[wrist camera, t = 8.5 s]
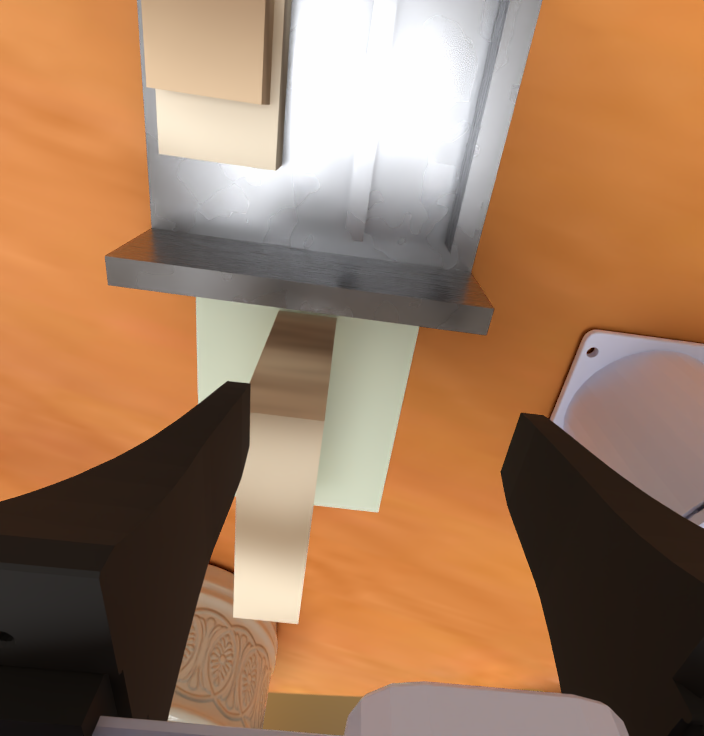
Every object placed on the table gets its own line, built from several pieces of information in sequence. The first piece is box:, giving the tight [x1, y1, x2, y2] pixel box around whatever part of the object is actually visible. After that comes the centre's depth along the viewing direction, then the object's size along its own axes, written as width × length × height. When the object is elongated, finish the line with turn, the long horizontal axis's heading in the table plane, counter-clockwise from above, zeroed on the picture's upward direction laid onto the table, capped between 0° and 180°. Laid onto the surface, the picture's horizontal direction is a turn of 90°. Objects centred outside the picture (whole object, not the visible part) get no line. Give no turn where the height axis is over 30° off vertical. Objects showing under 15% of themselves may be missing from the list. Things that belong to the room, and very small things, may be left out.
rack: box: [105, 0, 542, 335], centre depth 15 cm, size 16×13×5 cm
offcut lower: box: [155, 0, 292, 171], centre depth 16 cm, size 7×4×2 cm, turn 172°
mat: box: [196, 297, 419, 512], centre depth 24 cm, size 12×10×1 cm
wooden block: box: [233, 310, 337, 624], centre depth 20 cm, size 10×3×8 cm, turn 172°
